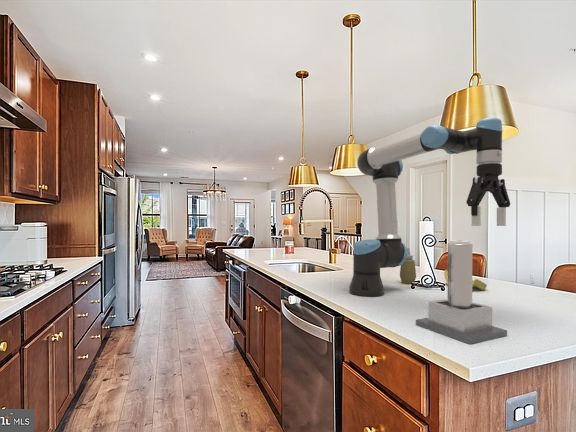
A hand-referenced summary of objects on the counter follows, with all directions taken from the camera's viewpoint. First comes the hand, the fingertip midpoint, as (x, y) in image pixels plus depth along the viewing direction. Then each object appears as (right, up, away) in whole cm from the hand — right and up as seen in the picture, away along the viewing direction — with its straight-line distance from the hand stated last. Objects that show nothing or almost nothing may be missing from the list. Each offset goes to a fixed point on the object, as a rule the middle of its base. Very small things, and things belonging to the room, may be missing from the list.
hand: (488, 225), depth 114 cm
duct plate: (-18, -30, -16) cm, 39 cm away
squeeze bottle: (-7, -32, +57) cm, 66 cm away
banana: (+17, -32, +48) cm, 60 cm away
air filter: (-18, -29, -16) cm, 38 cm away
